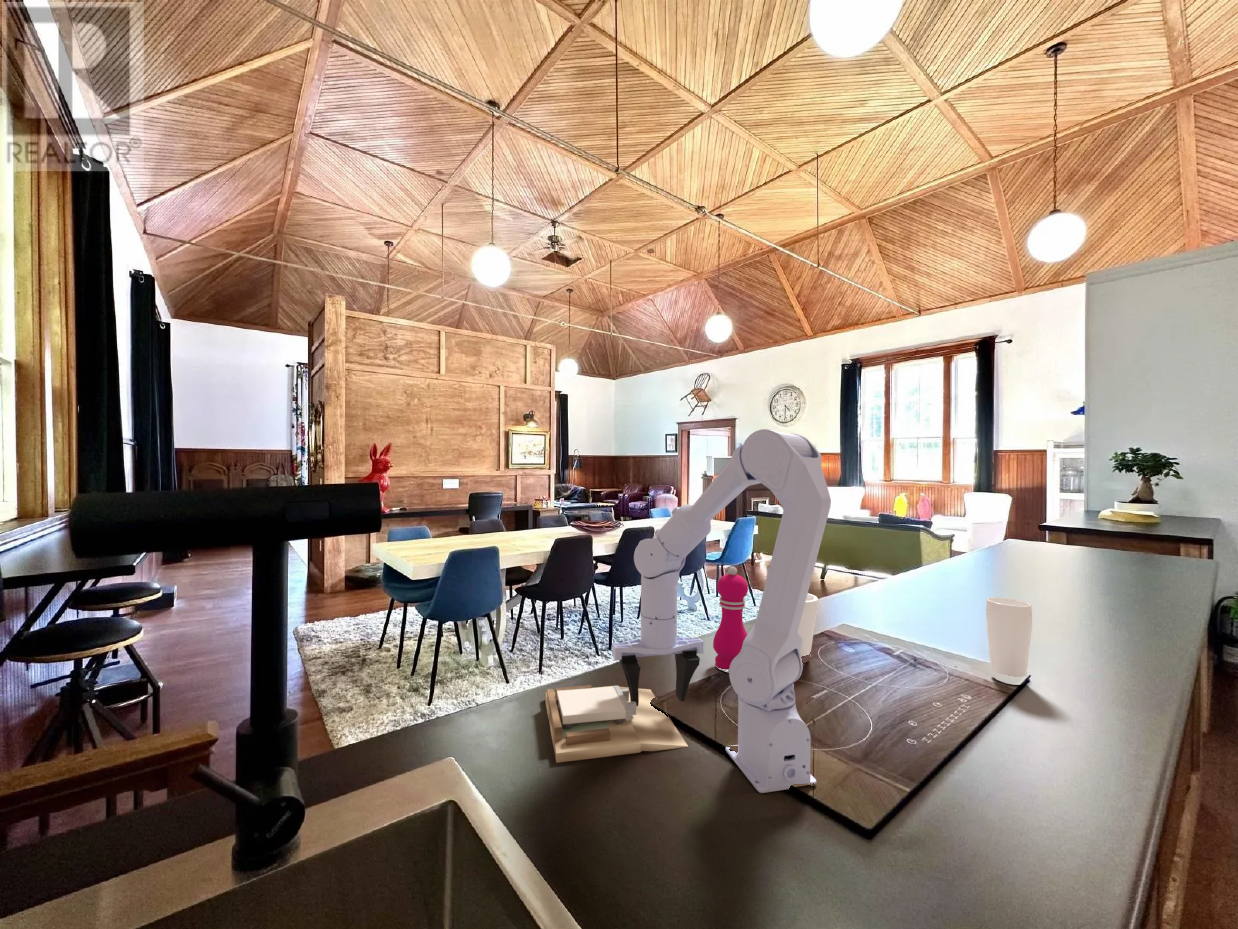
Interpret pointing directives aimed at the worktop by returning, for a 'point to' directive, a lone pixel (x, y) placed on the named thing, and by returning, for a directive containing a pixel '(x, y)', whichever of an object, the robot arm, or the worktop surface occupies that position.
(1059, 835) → the worktop surface
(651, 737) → the dock
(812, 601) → the foam cup
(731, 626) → the pepper mill
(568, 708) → the white tabbed block
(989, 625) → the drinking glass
